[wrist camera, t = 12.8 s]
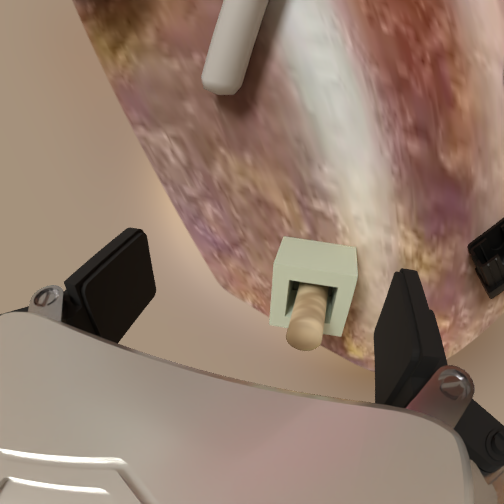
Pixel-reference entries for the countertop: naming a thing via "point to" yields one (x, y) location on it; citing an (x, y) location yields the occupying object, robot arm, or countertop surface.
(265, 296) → the countertop surface
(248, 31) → the tube
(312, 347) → the peg
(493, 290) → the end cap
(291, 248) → the socket block
